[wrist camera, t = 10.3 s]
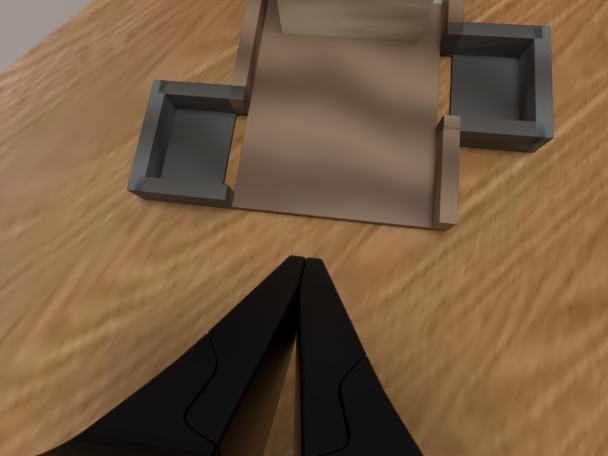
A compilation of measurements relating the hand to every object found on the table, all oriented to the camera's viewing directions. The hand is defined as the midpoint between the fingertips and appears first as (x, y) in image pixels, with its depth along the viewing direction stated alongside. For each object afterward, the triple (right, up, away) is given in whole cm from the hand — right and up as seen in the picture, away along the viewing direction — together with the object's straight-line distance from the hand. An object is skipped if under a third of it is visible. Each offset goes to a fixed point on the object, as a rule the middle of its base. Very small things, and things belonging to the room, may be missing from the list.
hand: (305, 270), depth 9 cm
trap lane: (+3, +14, +16) cm, 22 cm away
